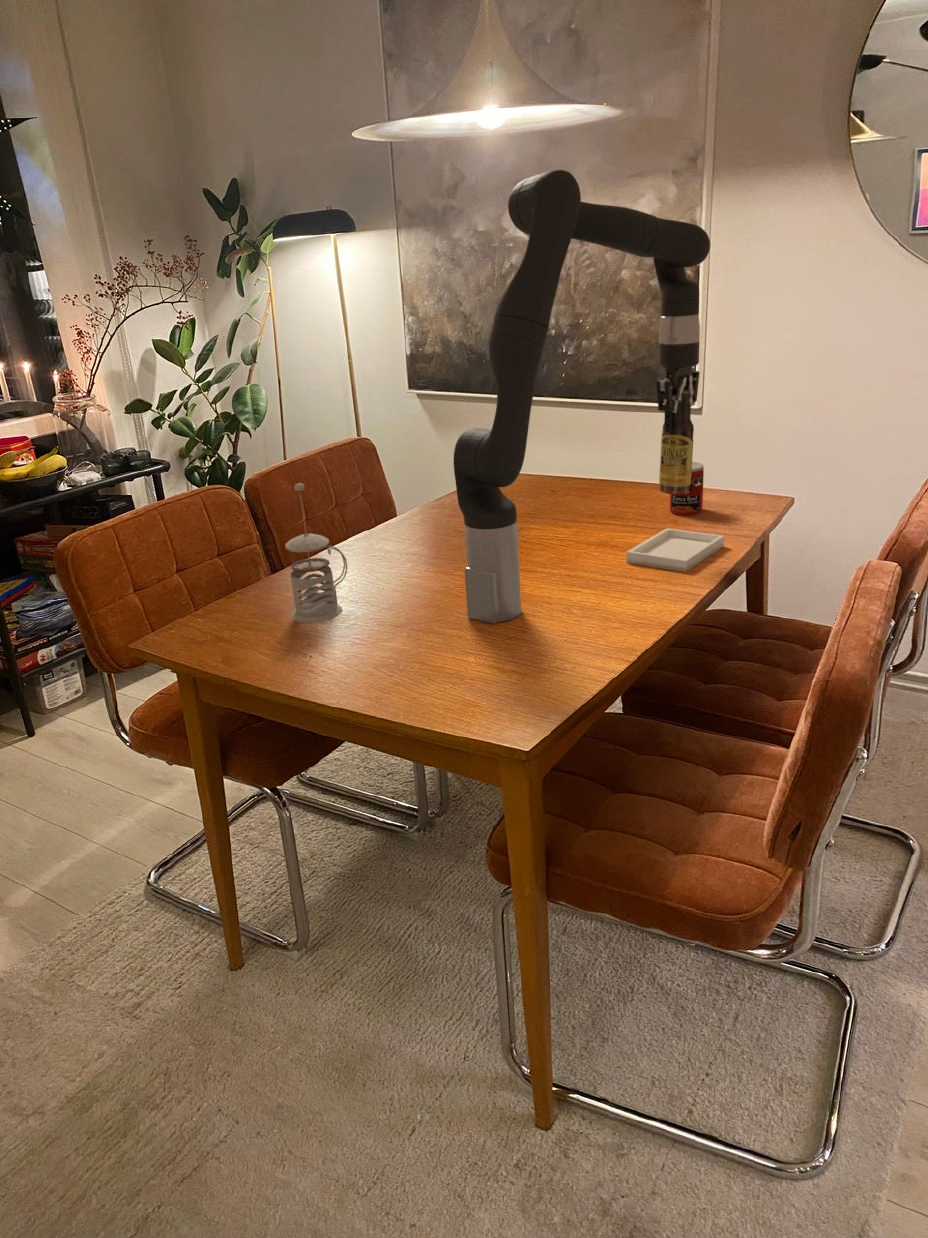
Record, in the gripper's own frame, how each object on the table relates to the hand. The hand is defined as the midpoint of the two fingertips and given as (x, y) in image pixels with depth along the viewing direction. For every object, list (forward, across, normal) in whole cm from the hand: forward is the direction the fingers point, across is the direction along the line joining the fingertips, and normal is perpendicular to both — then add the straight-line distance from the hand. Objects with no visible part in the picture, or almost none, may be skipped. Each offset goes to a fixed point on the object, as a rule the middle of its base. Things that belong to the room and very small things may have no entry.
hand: (677, 428), depth 182 cm
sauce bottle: (+13, 0, 0) cm, 13 cm away
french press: (+26, -59, +44) cm, 78 cm away
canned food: (+26, +30, +12) cm, 42 cm away
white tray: (+26, 0, 0) cm, 26 cm away
